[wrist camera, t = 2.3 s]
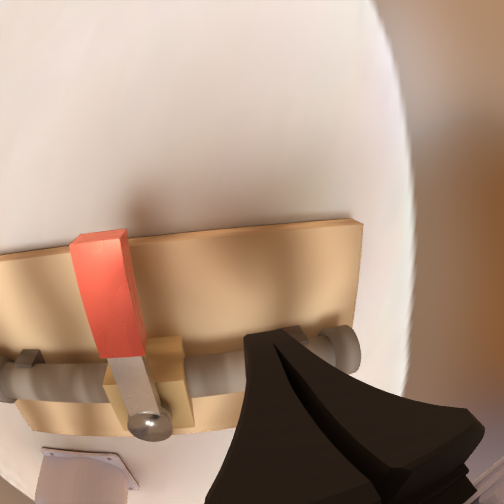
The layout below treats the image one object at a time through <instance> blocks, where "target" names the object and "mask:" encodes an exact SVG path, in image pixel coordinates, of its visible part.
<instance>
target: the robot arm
mask: <svg viewBox="0 0 504 504" xmlns="http://www.w3.org/2000/svg"><path fill="white" fill-rule="evenodd" d="M243 342H244V358H245V374H246V386H245V394H244V399H243V404H242V408H241V413H240V417H239V420H238V424H237V427H236V430H235V433H234V436H233V439H232V442H231V445H230V447H229V450H228V452H227V455H226V457H225V459H224V462H223V464H222V467H221V469H220V471H219V473H218V475H217V477H216V479H215V480H214V482H213V484H212V486H211V488H210V490H209V492H208V494H207V495H206V498H205V503H204V504H504V456H503V457H502V458H501V459H500V460H499V461H497V462H496V463H495V464H494V465H493V466H492V467H491V468H490V469H488V470H487V471H486V472H484V473H483V474H482V475H481V476H480V477H478V478H477V479H476V480H475V481H473V482H472V483H471V482H470V481H469V479H468V478H467V477H466V474H467V473H468V472H469V469H468V468H467V467H466V465H465V464H464V463H465V461H466V460H467V459H468V458H469V456H470V455H471V454H472V452H473V451H474V450H475V449H476V447H477V446H478V444H479V443H480V441H481V440H482V438H483V436H484V433H485V427H484V426H483V425H482V424H481V423H480V422H479V421H478V420H477V419H476V418H475V417H474V416H473V415H472V414H471V413H470V412H469V411H468V410H467V409H464V408H455V407H447V406H438V405H433V404H427V403H423V402H419V401H414V400H410V399H407V398H403V397H400V396H397V395H394V394H391V393H388V392H385V391H383V390H380V389H377V388H375V387H373V386H370V385H368V384H366V383H364V382H362V381H360V380H357V379H355V378H353V377H351V376H350V375H348V374H346V373H344V372H342V371H341V370H339V369H337V368H336V367H334V366H332V365H331V364H329V363H328V362H326V361H324V360H323V359H321V358H320V357H319V356H317V355H316V354H314V353H313V352H311V351H310V350H309V349H307V348H306V347H305V346H303V345H302V344H301V343H299V342H298V341H297V340H296V339H294V338H293V337H292V336H290V335H289V334H288V333H287V332H285V331H284V330H283V329H278V330H271V331H265V332H259V333H252V334H246V335H245V336H244V337H243ZM41 452H42V454H43V455H44V458H43V462H42V466H41V470H40V474H39V478H38V483H37V488H36V493H35V504H127V496H128V490H139V485H138V484H137V483H136V481H135V480H134V478H133V477H132V476H131V474H130V473H129V471H128V470H127V468H126V467H125V465H124V464H123V462H122V461H121V459H120V458H119V456H118V455H116V454H102V453H84V452H72V451H62V450H54V449H46V448H42V449H41Z"/></svg>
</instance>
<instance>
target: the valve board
mask: <svg viewBox="0 0 504 504" xmlns="http://www.w3.org/2000/svg"><path fill="white" fill-rule="evenodd" d="M362 235H363V224H362V223H360V222H358V221H355V220H353V219H340V220H326V221H313V222H300V223H287V224H275V225H263V226H251V227H240V228H229V229H218V230H208V231H198V232H188V233H178V234H168V235H159V236H149V237H140V238H131V239H128V243H129V250H130V256H131V262H132V267H133V273H134V278H135V284H136V289H137V294H138V299H139V303H140V308H141V313H142V317H143V321H144V326H145V330H146V334H147V343H146V354H147V358H148V362H149V365H150V369H151V372H152V375H153V379H154V382H155V385H156V388H157V392H158V395H159V398H160V401H162V402H164V403H165V404H167V405H168V406H169V407H170V409H171V411H172V422H173V433H172V435H174V434H186V433H196V432H206V431H214V430H221V429H228V428H235V427H237V424H238V420H239V417H240V413H241V408H242V404H243V399H244V394H245V386H246V374H245V358H244V342H243V337H244V336H245V335H246V334H252V333H259V332H265V331H271V330H278V329H283V330H284V331H285V332H287V333H288V334H289V335H290V336H292V337H293V338H294V339H296V340H297V341H298V342H299V343H301V344H302V345H303V346H305V347H306V348H307V349H309V350H310V351H311V352H313V353H314V354H316V355H317V356H319V357H320V358H321V359H323V360H324V361H326V362H328V363H329V364H331V365H332V366H334V367H336V368H337V369H339V370H341V371H342V372H344V373H346V374H352V373H355V372H356V371H357V370H358V369H359V366H360V362H361V350H360V345H359V341H358V338H357V336H356V334H355V332H354V330H353V329H352V325H353V318H354V311H355V304H356V296H357V288H358V279H359V270H360V259H361V248H362ZM0 402H5V403H15V404H16V406H17V408H18V409H19V411H20V412H21V414H22V415H23V417H24V418H25V420H26V421H27V423H28V424H29V426H30V427H31V428H32V430H33V431H40V432H48V433H57V434H69V435H84V436H134V435H132V434H131V433H130V432H129V430H128V428H127V422H128V411H127V408H126V406H125V404H124V401H123V399H122V397H121V394H120V392H119V389H118V387H117V384H116V382H115V379H114V377H113V374H112V371H111V369H110V366H109V363H108V361H107V358H100V355H99V352H98V350H97V347H96V344H95V341H94V338H93V335H92V332H91V329H90V326H89V322H88V319H87V316H86V312H85V309H84V306H83V302H82V298H81V295H80V291H79V287H78V283H77V279H76V275H75V271H74V267H73V262H72V258H71V253H70V248H69V246H65V247H57V248H50V249H42V250H35V251H28V252H20V253H13V254H6V255H0Z"/></svg>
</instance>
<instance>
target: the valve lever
mask: <svg viewBox="0 0 504 504" xmlns="http://www.w3.org/2000/svg"><path fill="white" fill-rule="evenodd" d="M69 248H70V253H71V258H72V262H73V267H74V271H75V275H76V279H77V283H78V287H79V291H80V295H81V298H82V302H83V306H84V309H85V312H86V316H87V319H88V322H89V326H90V329H91V332H92V335H93V338H94V341H95V344H96V347H97V350H98V352H99V355H100V358H107V361H108V363H109V366H110V369H111V371H112V374H113V377H114V379H115V382H116V384H117V387H118V389H119V392H120V394H121V397H122V399H123V401H124V404H125V406H126V408H127V411H128V422H127V428H128V430H129V432H130V433H131V434H132V435H134V436H135V437H137V438H139V439H141V440H145V441H152V442H156V441H162V440H165V439H167V438H169V437H170V436H171V435H172V433H173V422H172V411H171V409H170V407H169V406H168V405H167V404H165V403H164V402H162V401H160V398H159V395H158V392H157V388H156V385H155V382H154V379H153V375H152V372H151V369H150V365H149V362H148V358H147V354H146V343H147V334H146V330H145V326H144V321H143V317H142V313H141V308H140V303H139V299H138V294H137V289H136V284H135V278H134V273H133V267H132V262H131V256H130V250H129V243H128V237H127V230H126V229H119V230H110V231H102V232H94V233H87V234H80V235H79V236H78V237H77V238H76V239H75V240H74V241H73V242H71V243H70V244H69Z"/></svg>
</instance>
